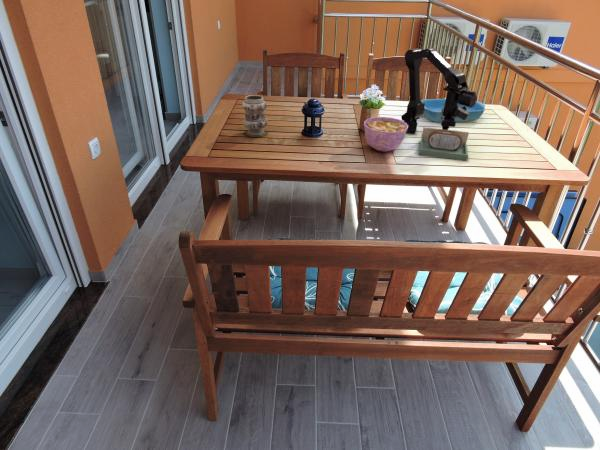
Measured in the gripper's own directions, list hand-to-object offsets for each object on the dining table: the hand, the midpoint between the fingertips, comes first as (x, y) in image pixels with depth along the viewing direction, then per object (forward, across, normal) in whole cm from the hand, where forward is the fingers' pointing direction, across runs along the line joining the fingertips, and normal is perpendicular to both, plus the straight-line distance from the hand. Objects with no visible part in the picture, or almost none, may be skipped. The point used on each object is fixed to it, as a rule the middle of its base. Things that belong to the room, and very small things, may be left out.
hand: (444, 134), depth 199 cm
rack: (+4, -10, 0) cm, 11 cm away
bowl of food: (+4, -15, +27) cm, 31 cm away
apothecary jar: (+4, -16, +90) cm, 92 cm away
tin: (+4, -9, 0) cm, 10 cm away
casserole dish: (+6, +41, -4) cm, 41 cm away
